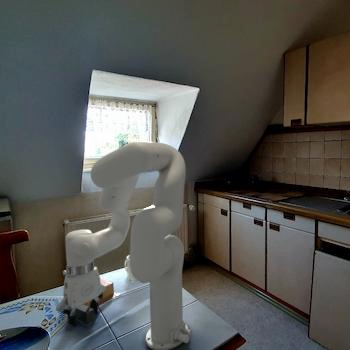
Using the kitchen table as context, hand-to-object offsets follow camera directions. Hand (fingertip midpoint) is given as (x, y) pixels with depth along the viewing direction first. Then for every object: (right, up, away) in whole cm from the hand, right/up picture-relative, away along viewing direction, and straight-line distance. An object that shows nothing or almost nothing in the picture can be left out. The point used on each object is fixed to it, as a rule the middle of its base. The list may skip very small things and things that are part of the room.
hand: (83, 318), depth 87 cm
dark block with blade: (-4, -1, +2) cm, 4 cm away
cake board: (-4, 0, +14) cm, 14 cm away
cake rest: (-4, +1, +16) cm, 17 cm away
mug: (+4, +1, +31) cm, 31 cm away
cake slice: (-6, +1, +11) cm, 13 cm away
